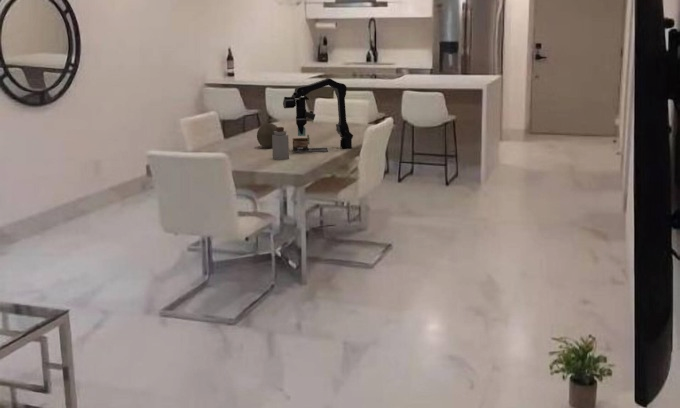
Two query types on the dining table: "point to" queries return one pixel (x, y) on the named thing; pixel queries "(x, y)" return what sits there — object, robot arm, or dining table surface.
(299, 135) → the block
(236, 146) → the dining table surface
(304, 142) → the cart
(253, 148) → the dining table surface
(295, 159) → the dining table surface
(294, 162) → the dining table surface
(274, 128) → the cantaloupe
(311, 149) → the rail
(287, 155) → the perfume bottle
